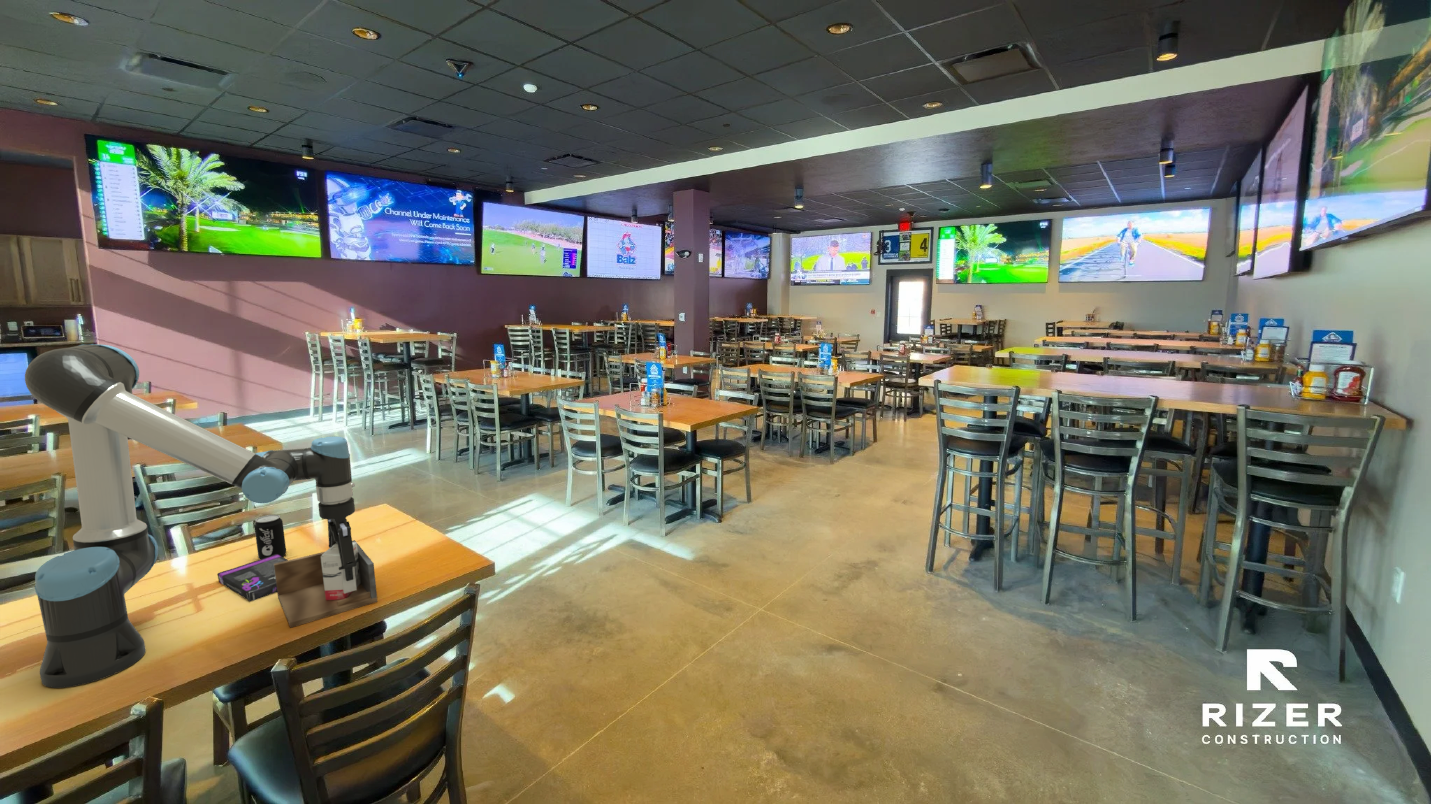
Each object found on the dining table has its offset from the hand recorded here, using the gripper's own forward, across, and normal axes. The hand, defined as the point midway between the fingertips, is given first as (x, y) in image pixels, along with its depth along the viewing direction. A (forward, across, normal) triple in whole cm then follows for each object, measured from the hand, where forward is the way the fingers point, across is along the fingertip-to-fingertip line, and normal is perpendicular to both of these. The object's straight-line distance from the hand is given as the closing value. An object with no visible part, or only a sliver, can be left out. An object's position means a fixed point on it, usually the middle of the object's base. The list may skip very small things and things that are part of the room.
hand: (345, 583), depth 154 cm
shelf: (+3, +1, +4) cm, 5 cm away
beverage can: (+4, +40, +10) cm, 41 cm away
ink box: (+2, 0, 0) cm, 2 cm away
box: (+4, +24, +14) cm, 28 cm away
